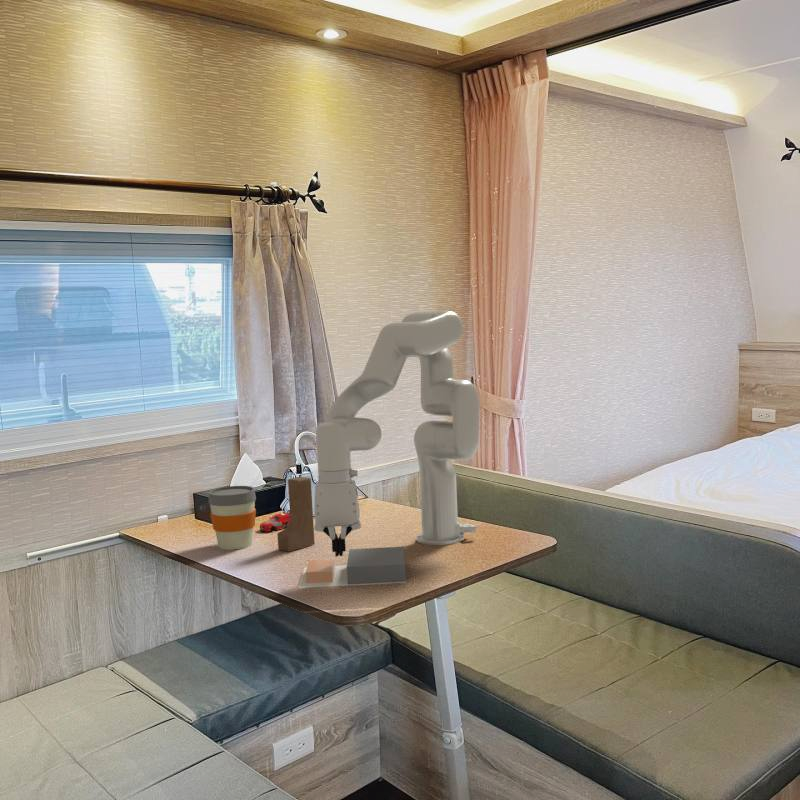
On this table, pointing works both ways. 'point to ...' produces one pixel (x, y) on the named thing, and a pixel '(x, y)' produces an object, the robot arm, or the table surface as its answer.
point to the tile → (320, 571)
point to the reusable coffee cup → (233, 515)
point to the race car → (276, 522)
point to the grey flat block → (376, 565)
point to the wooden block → (298, 516)
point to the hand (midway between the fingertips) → (339, 554)
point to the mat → (338, 580)
